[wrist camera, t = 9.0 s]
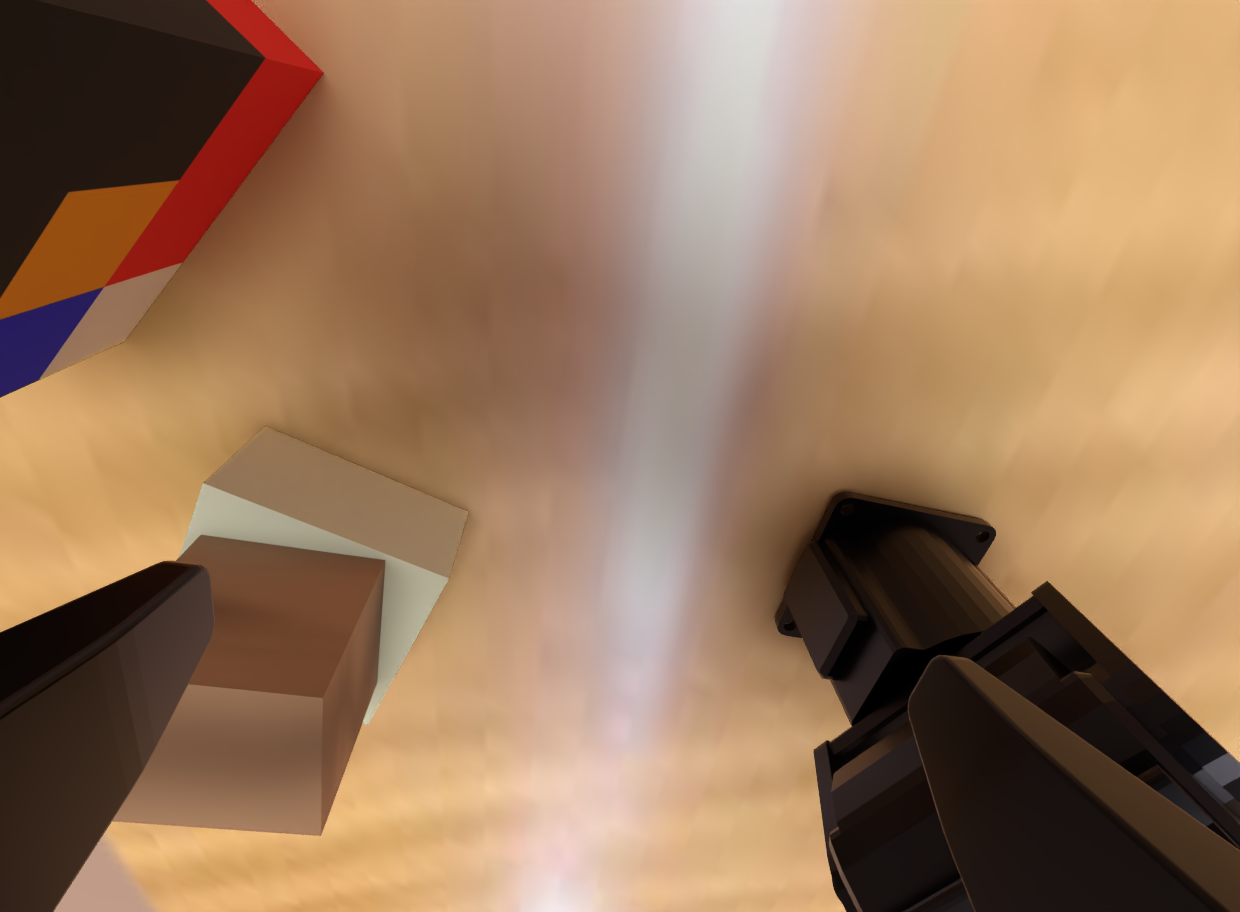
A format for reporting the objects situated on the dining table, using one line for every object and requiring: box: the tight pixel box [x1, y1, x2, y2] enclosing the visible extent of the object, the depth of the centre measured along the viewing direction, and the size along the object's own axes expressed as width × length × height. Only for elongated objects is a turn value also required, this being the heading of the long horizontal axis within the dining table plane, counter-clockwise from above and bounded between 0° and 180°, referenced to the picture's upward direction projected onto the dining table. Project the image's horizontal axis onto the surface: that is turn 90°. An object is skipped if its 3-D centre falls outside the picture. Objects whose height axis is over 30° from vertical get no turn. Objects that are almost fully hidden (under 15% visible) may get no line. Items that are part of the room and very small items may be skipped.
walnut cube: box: [112, 535, 385, 836], centre depth 17 cm, size 5×5×5 cm
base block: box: [179, 426, 469, 725], centre depth 21 cm, size 7×7×4 cm
